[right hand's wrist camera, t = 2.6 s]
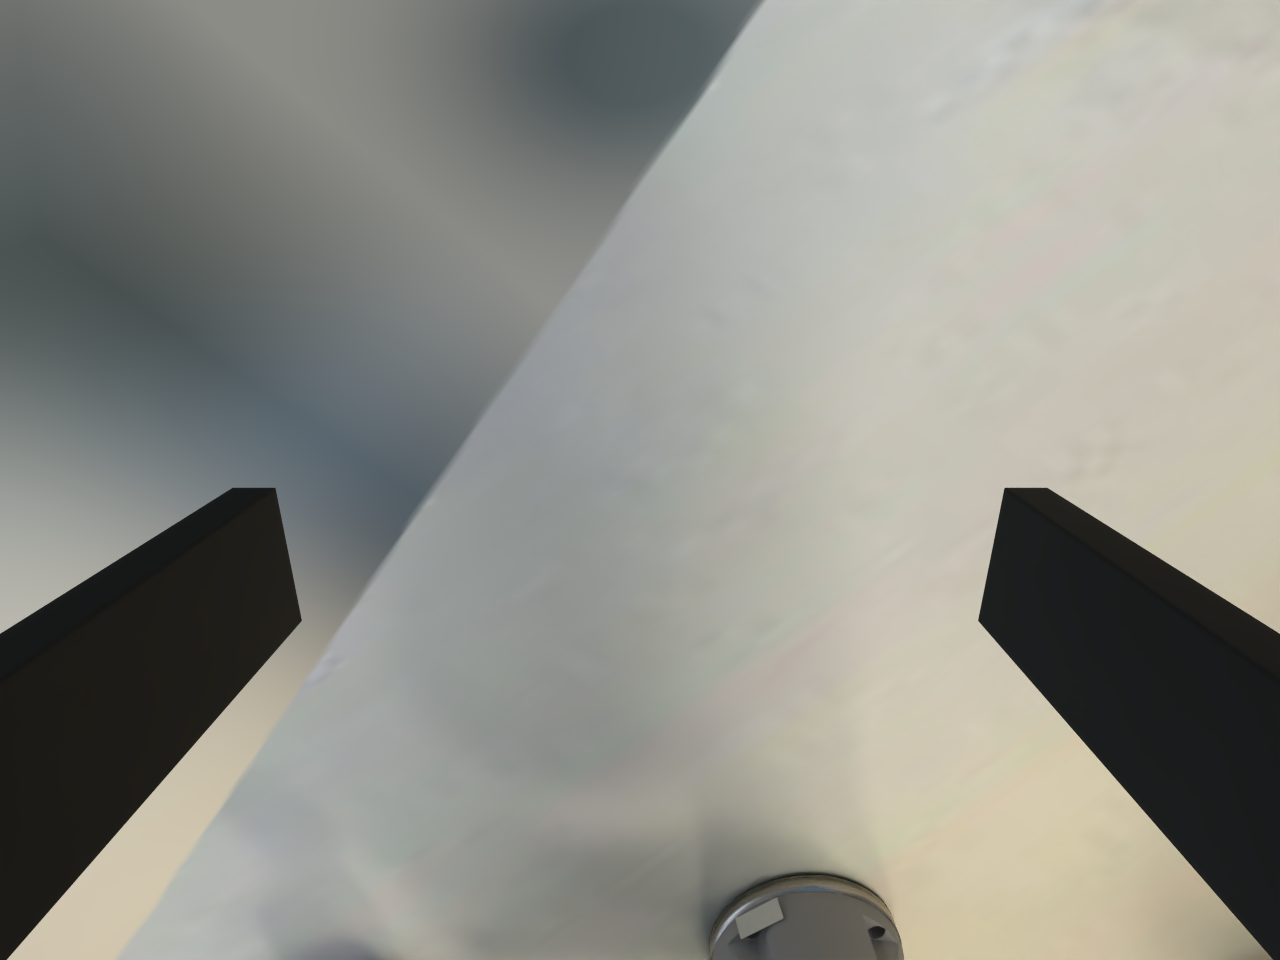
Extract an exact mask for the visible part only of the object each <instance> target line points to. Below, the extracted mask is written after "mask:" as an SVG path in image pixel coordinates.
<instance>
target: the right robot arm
mask: <svg viewBox="0 0 1280 960" xmlns="http://www.w3.org/2000/svg"><path fill="white" fill-rule="evenodd" d="M301 621H302V619H301V614H300V609H299V605H298V599H297V594H296V589H295V584H294V579H293V574H292V569H291V564H290V559H289V554H288V549H287V544H286V539H285V534H284V529H283V524H282V519H281V514H280V509H279V504H278V499H277V494H276V489H275V488H232V489H230V490H229V491H227V492H225V493H224V494H222V495H221V496H219V497H218V498H216V499H214V500H213V501H211V502H210V503H208V504H206V505H205V506H203V507H202V508H200V509H198V510H197V511H195V512H194V513H192V514H190V515H189V516H187V517H186V518H184V519H182V520H181V521H179V522H178V523H176V524H175V525H173V526H171V527H170V528H168V529H167V530H165V531H163V532H162V533H160V534H159V535H157V536H155V537H154V538H152V539H151V540H149V541H147V542H146V543H144V544H143V545H141V546H139V547H138V548H136V549H135V550H133V551H131V552H130V553H128V554H127V555H125V556H124V557H122V558H120V559H119V560H117V561H116V562H114V563H112V564H111V565H109V566H108V567H106V568H104V569H103V570H101V571H100V572H98V573H96V574H95V575H93V576H92V577H90V578H89V579H87V580H85V581H84V582H82V583H81V584H79V585H77V586H76V587H74V588H73V589H71V590H69V591H68V592H66V593H65V594H63V595H61V596H60V597H58V598H57V599H55V600H54V601H52V602H50V603H49V604H47V605H45V606H44V607H42V608H41V609H39V610H37V611H36V612H34V613H33V614H31V615H30V616H28V617H26V618H25V619H23V620H22V621H20V622H18V623H17V624H15V625H14V626H12V627H11V628H9V629H7V630H6V631H4V632H2V633H1V634H0V960H7V959H8V958H9V956H10V955H11V954H12V953H13V952H14V951H15V949H16V948H17V947H18V946H19V945H20V944H21V943H22V941H23V940H24V939H25V938H26V937H27V936H28V935H29V933H30V932H31V931H32V930H33V929H34V928H35V927H36V925H37V924H38V923H39V922H40V921H41V920H42V918H43V917H44V916H45V915H46V914H47V913H48V912H49V910H50V909H51V908H52V907H53V906H54V905H55V904H56V902H57V901H58V900H59V899H60V898H61V897H62V895H63V894H64V893H65V892H66V891H67V890H68V889H69V888H70V886H71V885H72V884H73V883H74V882H75V881H76V879H77V878H78V877H79V876H80V875H81V874H82V873H83V871H84V870H85V869H86V868H87V867H88V866H89V864H90V863H91V862H92V861H93V860H94V859H95V858H96V856H97V855H98V854H99V853H100V852H101V851H102V850H103V848H104V847H105V846H106V845H107V844H108V843H109V841H110V840H111V839H112V838H113V837H114V836H115V835H116V833H117V832H118V831H119V830H120V829H121V828H122V827H123V825H124V824H125V823H126V822H127V821H128V820H129V819H130V817H131V816H132V815H133V814H134V813H135V812H136V811H137V809H138V808H139V807H140V806H141V805H142V804H143V803H144V801H145V800H146V799H147V798H148V797H149V796H150V794H151V793H152V792H153V791H154V790H155V789H156V788H157V786H158V785H159V784H160V783H161V782H162V781H163V780H164V778H165V777H166V776H167V775H168V774H169V773H170V771H171V770H172V769H173V768H174V767H175V766H176V765H177V763H178V762H179V761H180V760H181V759H182V758H183V757H184V755H185V754H186V753H187V752H188V751H189V750H190V749H191V747H192V746H193V745H194V744H195V743H196V742H197V740H198V739H199V738H200V737H201V736H202V735H203V734H204V732H205V731H206V730H207V729H208V728H209V727H210V726H211V724H212V723H213V722H214V721H215V720H216V719H217V718H218V716H219V715H220V714H221V713H222V712H223V711H224V709H225V708H226V707H227V706H228V705H229V704H230V703H231V701H232V700H233V699H234V698H235V697H236V696H237V695H238V693H239V692H240V691H241V690H242V689H243V688H244V686H245V685H246V684H247V683H248V682H249V681H250V680H251V678H252V677H253V676H254V675H255V674H256V673H257V672H258V670H259V669H260V668H261V667H262V666H263V665H264V664H265V662H266V661H267V660H268V659H269V658H270V657H271V655H272V654H273V653H274V652H275V651H276V650H277V649H278V647H279V646H280V645H281V644H282V643H283V642H284V641H285V639H286V638H287V637H288V636H289V635H290V634H291V633H292V631H293V630H294V629H295V628H296V627H297V626H298V624H299V623H300V622H301ZM978 621H979V622H980V623H981V624H982V626H983V627H984V628H985V629H986V630H987V631H988V633H989V634H990V635H991V636H992V637H993V638H994V639H995V641H996V642H997V643H998V644H999V645H1000V646H1001V647H1002V649H1003V650H1004V651H1005V652H1006V653H1007V654H1008V655H1009V657H1010V658H1011V659H1012V660H1013V661H1014V662H1015V664H1016V665H1017V666H1018V667H1019V668H1020V669H1021V670H1022V672H1023V673H1024V674H1025V675H1026V676H1027V677H1028V678H1029V680H1030V681H1031V682H1032V683H1033V684H1034V685H1035V686H1036V688H1037V689H1038V690H1039V691H1040V692H1041V693H1042V695H1043V696H1044V697H1045V698H1046V699H1047V700H1048V701H1049V703H1050V704H1051V705H1052V706H1053V707H1054V708H1055V709H1056V711H1057V712H1058V713H1059V714H1060V715H1061V716H1062V718H1063V719H1064V720H1065V721H1066V722H1067V723H1068V724H1069V726H1070V727H1071V728H1072V729H1073V730H1074V731H1075V732H1076V734H1077V735H1078V736H1079V737H1080V738H1081V739H1082V740H1083V742H1084V743H1085V744H1086V745H1087V746H1088V747H1089V749H1090V750H1091V751H1092V752H1093V753H1094V754H1095V755H1096V757H1097V758H1098V759H1099V760H1100V761H1101V762H1102V763H1103V765H1104V766H1105V767H1106V768H1107V769H1108V770H1109V771H1110V773H1111V774H1112V775H1113V776H1114V777H1115V778H1116V780H1117V781H1118V782H1119V783H1120V784H1121V785H1122V786H1123V788H1124V789H1125V790H1126V791H1127V792H1128V793H1129V794H1130V796H1131V797H1132V798H1133V799H1134V800H1135V801H1136V803H1137V804H1138V805H1139V806H1140V807H1141V808H1142V809H1143V811H1144V812H1145V813H1146V814H1147V815H1148V816H1149V817H1150V819H1151V820H1152V821H1153V822H1154V823H1155V824H1156V825H1157V827H1158V828H1159V829H1160V830H1161V831H1162V832H1163V834H1164V835H1165V836H1166V837H1167V838H1168V839H1169V840H1170V842H1171V843H1172V844H1173V845H1174V846H1175V847H1176V848H1177V850H1178V851H1179V852H1180V853H1181V854H1182V855H1183V856H1184V858H1185V859H1186V860H1187V861H1188V862H1189V863H1190V865H1191V866H1192V867H1193V868H1194V869H1195V870H1196V871H1197V873H1198V874H1199V875H1200V876H1201V877H1202V878H1203V879H1204V881H1205V882H1206V883H1207V884H1208V885H1209V886H1210V888H1211V889H1212V890H1213V891H1214V892H1215V893H1216V894H1217V896H1218V897H1219V898H1220V899H1221V900H1222V901H1223V902H1224V904H1225V905H1226V906H1227V907H1228V908H1229V909H1230V910H1231V912H1232V913H1233V914H1234V915H1235V916H1236V917H1237V919H1238V920H1239V921H1240V922H1241V923H1242V924H1243V925H1244V927H1245V928H1246V929H1247V930H1248V931H1249V932H1250V933H1251V935H1252V936H1253V937H1254V938H1255V939H1256V940H1257V941H1258V943H1259V944H1260V945H1261V946H1262V947H1263V948H1264V950H1265V951H1266V952H1267V953H1268V954H1269V955H1270V956H1271V958H1272V959H1273V960H1280V634H1279V633H1278V632H1276V631H1274V630H1273V629H1271V628H1270V627H1268V626H1266V625H1265V624H1263V623H1262V622H1260V621H1258V620H1257V619H1255V618H1254V617H1252V616H1250V615H1249V614H1247V613H1246V612H1244V611H1243V610H1241V609H1239V608H1238V607H1236V606H1235V605H1233V604H1231V603H1230V602H1228V601H1227V600H1225V599H1223V598H1222V597H1220V596H1219V595H1217V594H1215V593H1214V592H1212V591H1211V590H1209V589H1207V588H1206V587H1204V586H1203V585H1201V584H1200V583H1198V582H1196V581H1195V580H1193V579H1192V578H1190V577H1188V576H1187V575H1185V574H1184V573H1182V572H1180V571H1179V570H1177V569H1176V568H1174V567H1172V566H1171V565H1169V564H1168V563H1166V562H1164V561H1163V560H1161V559H1160V558H1158V557H1156V556H1155V555H1153V554H1152V553H1150V552H1149V551H1147V550H1145V549H1144V548H1142V547H1141V546H1139V545H1137V544H1136V543H1134V542H1133V541H1131V540H1129V539H1128V538H1126V537H1125V536H1123V535H1121V534H1120V533H1118V532H1117V531H1115V530H1113V529H1112V528H1110V527H1109V526H1107V525H1106V524H1104V523H1102V522H1101V521H1099V520H1098V519H1096V518H1094V517H1093V516H1091V515H1090V514H1088V513H1086V512H1085V511H1083V510H1082V509H1080V508H1078V507H1077V506H1075V505H1074V504H1072V503H1070V502H1069V501H1067V500H1066V499H1064V498H1063V497H1061V496H1059V495H1058V494H1056V493H1055V492H1053V491H1051V490H1050V489H1048V488H1005V489H1004V494H1003V499H1002V504H1001V509H1000V514H999V519H998V524H997V529H996V534H995V539H994V544H993V549H992V554H991V559H990V564H989V569H988V574H987V579H986V584H985V589H984V594H983V599H982V604H981V609H980V614H979V619H978ZM710 958H711V960H904V954H903V949H902V944H901V939H900V936H899V933H898V930H897V928H896V925H895V922H894V920H893V917H892V915H891V913H890V911H889V910H888V908H887V907H886V905H885V904H884V903H883V902H882V901H881V900H880V899H879V898H878V897H877V896H876V895H875V894H873V893H872V892H870V891H869V890H867V889H866V888H864V887H862V886H860V885H858V884H856V883H853V882H850V881H848V880H844V879H840V878H836V877H831V876H822V875H799V876H790V877H785V878H780V879H776V880H772V881H769V882H766V883H763V884H761V885H759V886H756V887H754V888H752V889H750V890H749V891H747V892H745V893H744V894H742V895H740V896H739V897H738V898H736V899H735V900H734V901H733V902H732V903H730V904H729V905H728V906H727V907H726V908H725V910H724V911H723V912H722V913H721V915H720V916H719V917H718V919H717V921H716V923H715V924H714V927H713V929H712V933H711V936H710Z"/></svg>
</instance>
